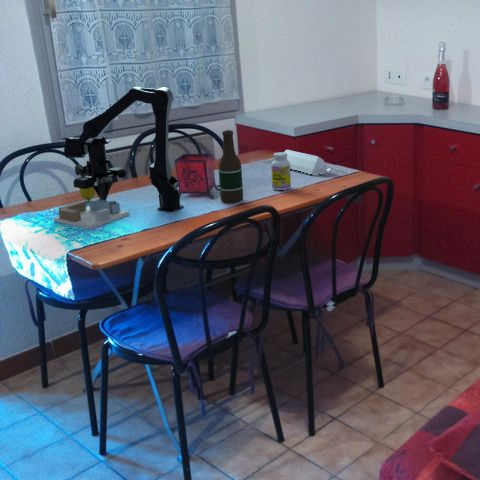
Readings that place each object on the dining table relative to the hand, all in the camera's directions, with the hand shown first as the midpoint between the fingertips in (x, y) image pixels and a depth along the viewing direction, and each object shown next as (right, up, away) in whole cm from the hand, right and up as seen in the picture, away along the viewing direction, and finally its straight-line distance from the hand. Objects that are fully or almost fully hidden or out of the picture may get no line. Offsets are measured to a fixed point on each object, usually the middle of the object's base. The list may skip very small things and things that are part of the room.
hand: (103, 202), depth 232 cm
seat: (-2, -6, -7) cm, 9 cm away
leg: (+2, -3, -5) cm, 6 cm away
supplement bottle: (+61, +5, +14) cm, 63 cm away
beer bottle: (+43, +1, +3) cm, 44 cm away
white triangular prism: (+71, +14, +39) cm, 82 cm away
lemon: (-8, +1, +13) cm, 16 cm away
